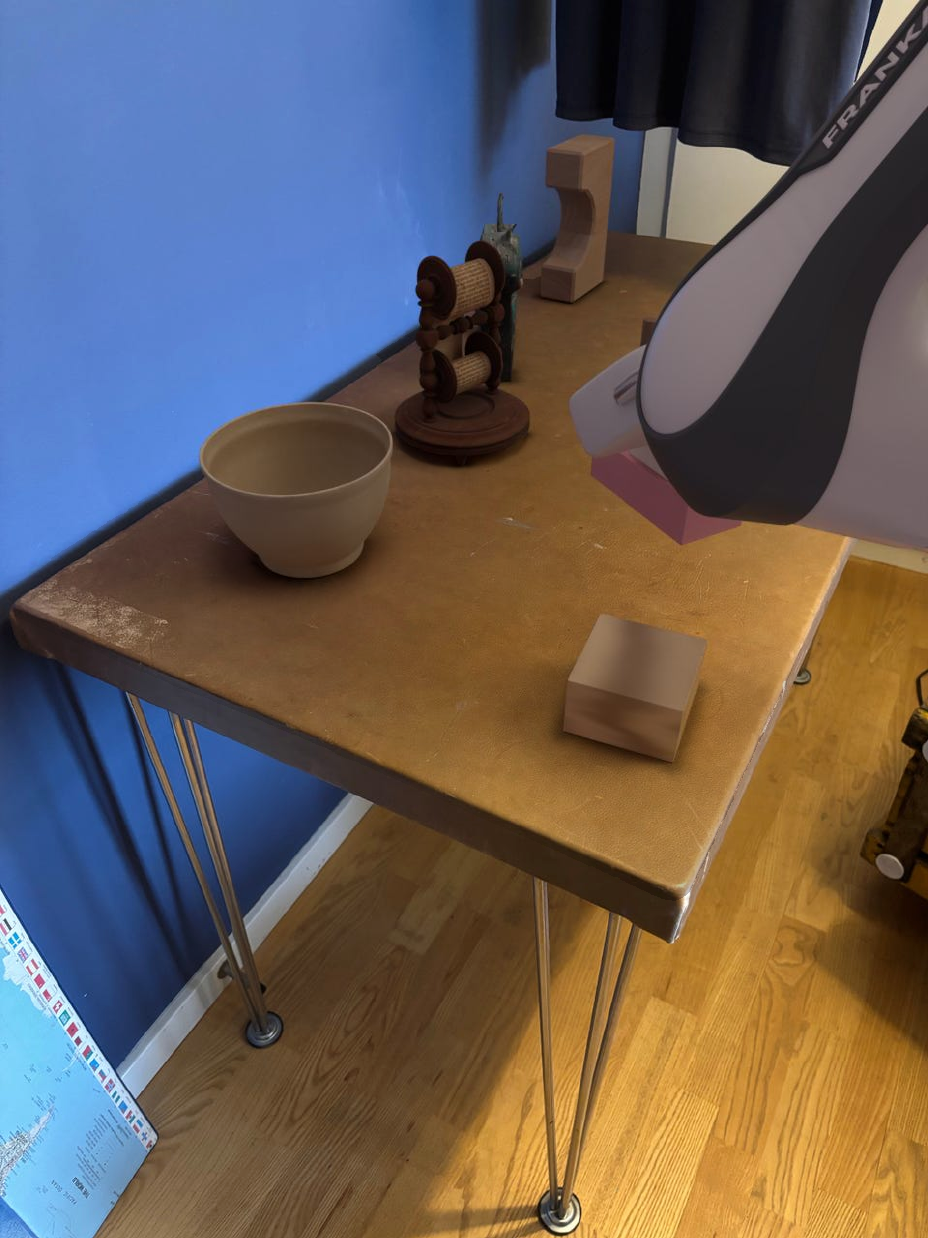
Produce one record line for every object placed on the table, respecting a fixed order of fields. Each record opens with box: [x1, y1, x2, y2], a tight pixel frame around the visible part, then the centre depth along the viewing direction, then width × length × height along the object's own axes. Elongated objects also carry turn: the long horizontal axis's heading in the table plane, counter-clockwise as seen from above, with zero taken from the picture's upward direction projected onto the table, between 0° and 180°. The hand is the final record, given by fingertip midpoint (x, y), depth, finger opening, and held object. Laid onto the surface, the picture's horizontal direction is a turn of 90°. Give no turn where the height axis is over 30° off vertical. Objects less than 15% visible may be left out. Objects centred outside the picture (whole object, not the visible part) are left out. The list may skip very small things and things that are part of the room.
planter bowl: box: [198, 401, 394, 579], centre depth 80 cm, size 16×16×11 cm
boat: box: [590, 316, 743, 546], centre depth 58 cm, size 12×5×11 cm, turn 28°
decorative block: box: [539, 133, 616, 304], centre depth 131 cm, size 11×6×20 cm, turn 148°
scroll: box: [394, 239, 531, 466], centre depth 95 cm, size 15×15×20 cm
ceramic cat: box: [472, 192, 524, 382], centre depth 112 cm, size 20×6×20 cm, turn 179°
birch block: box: [562, 613, 708, 763], centre depth 66 cm, size 8×8×5 cm
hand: (672, 424), depth 57 cm, fingers closed on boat, 4 cm apart
